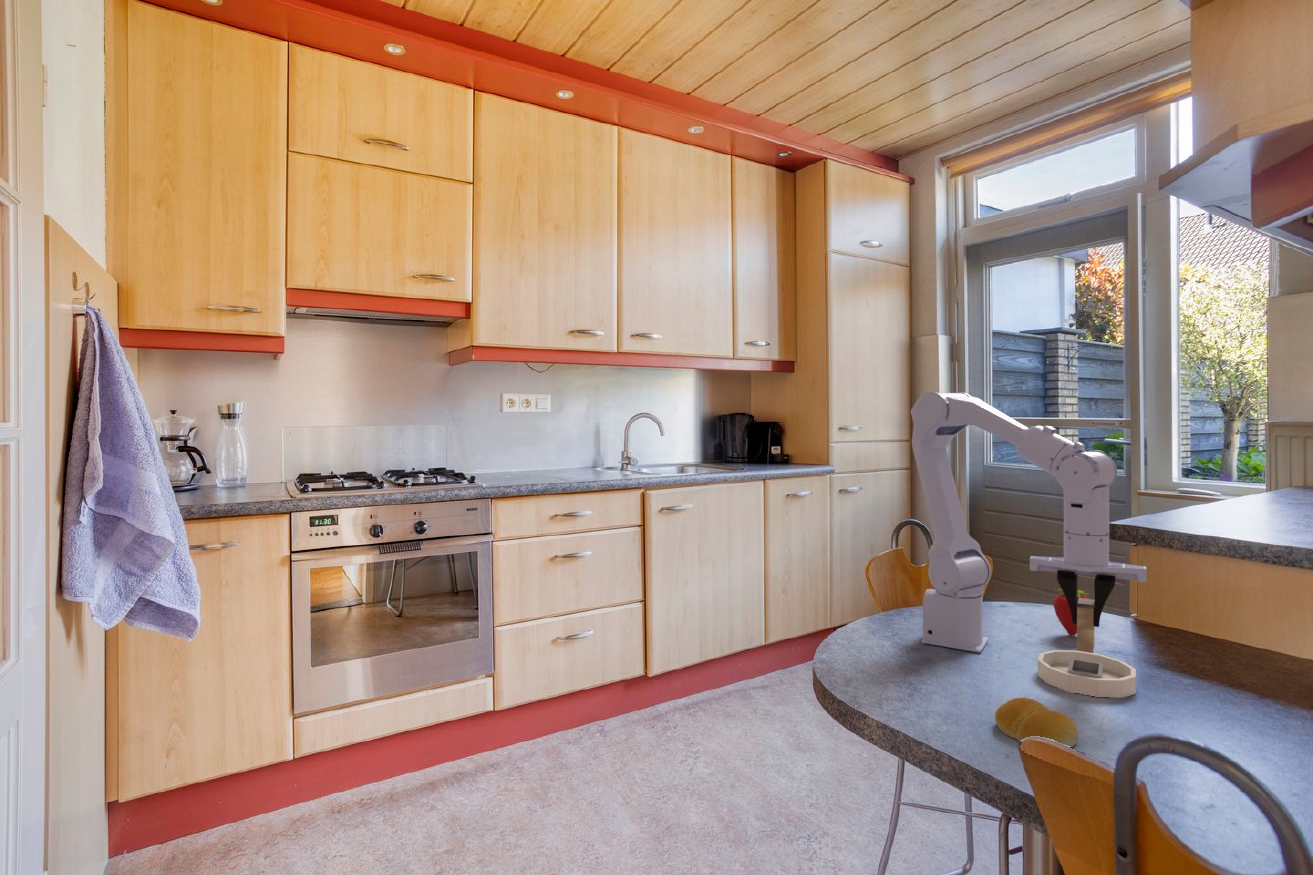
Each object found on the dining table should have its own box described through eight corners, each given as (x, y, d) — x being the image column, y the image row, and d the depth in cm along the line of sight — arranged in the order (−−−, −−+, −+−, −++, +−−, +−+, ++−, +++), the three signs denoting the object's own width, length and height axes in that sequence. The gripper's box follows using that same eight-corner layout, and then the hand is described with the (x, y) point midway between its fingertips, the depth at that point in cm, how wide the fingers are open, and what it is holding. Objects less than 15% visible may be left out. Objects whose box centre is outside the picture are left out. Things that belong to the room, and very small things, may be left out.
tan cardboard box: (1076, 650, 99) (1077, 603, 99) (1078, 643, 103) (1079, 597, 103) (1093, 653, 98) (1093, 605, 98) (1094, 646, 101) (1094, 599, 101)
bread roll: (1046, 759, 78) (1046, 725, 78) (983, 726, 87) (983, 696, 87) (1095, 745, 81) (1095, 713, 81) (1031, 715, 90) (1030, 686, 90)
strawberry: (1097, 634, 122) (1097, 579, 121) (1086, 644, 116) (1086, 587, 116) (1060, 627, 126) (1060, 574, 126) (1047, 636, 121) (1048, 581, 120)
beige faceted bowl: (1034, 685, 99) (1034, 668, 99) (1043, 660, 109) (1043, 645, 109) (1136, 704, 92) (1136, 686, 92) (1135, 676, 102) (1135, 659, 102)
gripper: (1027, 532, 101) (1027, 622, 101) (1147, 541, 93) (1146, 639, 93) (1032, 525, 107) (1032, 611, 107) (1146, 533, 98) (1145, 626, 99)
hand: (1085, 623), depth 100 cm, fingers closed on tan cardboard box, 2 cm apart
